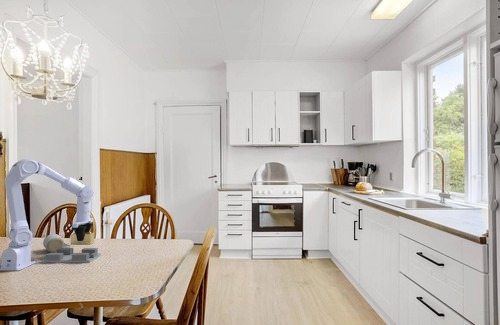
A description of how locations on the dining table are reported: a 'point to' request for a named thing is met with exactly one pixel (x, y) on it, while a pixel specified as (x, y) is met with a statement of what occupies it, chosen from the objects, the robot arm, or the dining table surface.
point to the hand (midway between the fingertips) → (82, 239)
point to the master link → (87, 239)
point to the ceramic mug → (54, 243)
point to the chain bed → (72, 256)
